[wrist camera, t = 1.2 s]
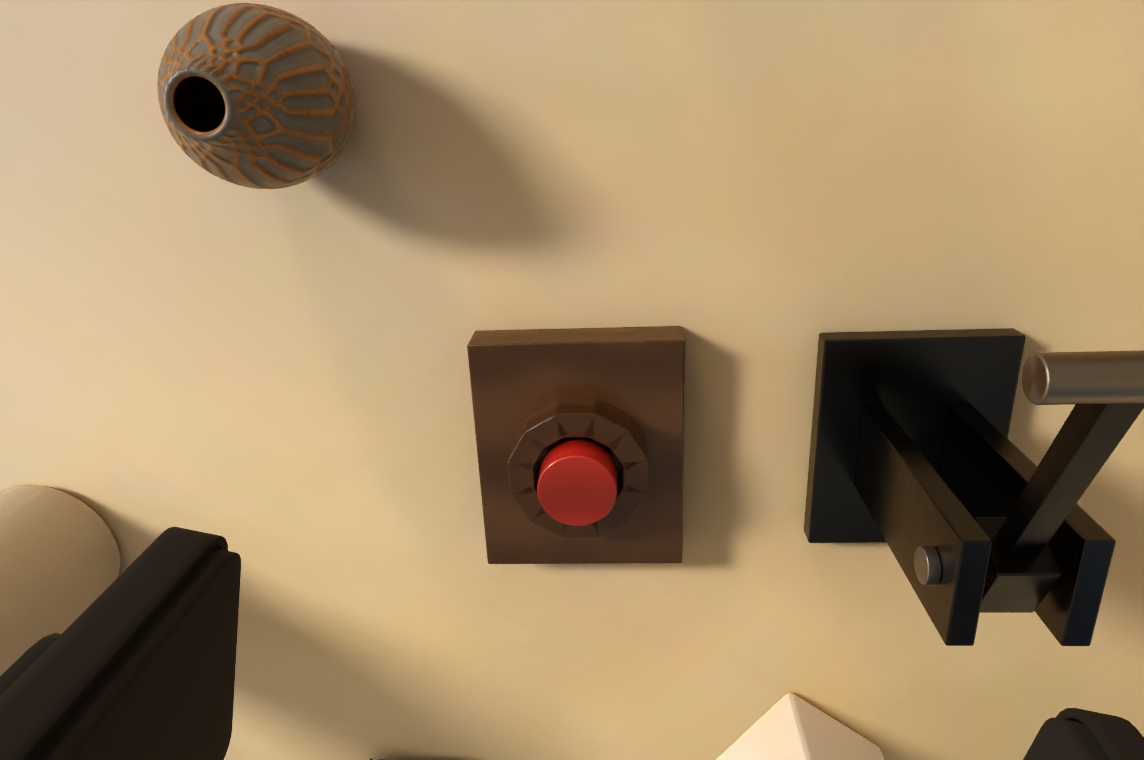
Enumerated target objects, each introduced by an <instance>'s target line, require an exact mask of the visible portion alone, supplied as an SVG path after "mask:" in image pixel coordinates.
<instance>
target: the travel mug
mask: <svg viewBox="0 0 1144 760" xmlns="http://www.w3.org/2000/svg"><path fill="white" fill-rule="evenodd" d="M119 571H120V554H119V550H118V546H117V543H116V540H115V538H114V536H113V534H112V533H111V531H110V529H109V528H108V526H107V525H106V524H105V522H104V521H103V520H102V519H101V518H100V517H99V516H98V515H97V513H96V512H94V511H93V510H92V509H91V508H90V507H88V506H87V505H86V504H84V503H83V502H81V501H80V500H78V499H77V498H75V497H73V496H71V495H69V494H67V493H65V492H62V491H59V490H57V489H53V488H50V487H45V486H38V485H20V486H14V487H11V488H8V489H5V490H3V491H1V492H0V676H1V675H2V674H3V673H4V672H5V671H6V670H7V669H8V668H9V667H10V666H11V665H12V664H13V663H15V662H16V661H17V660H18V659H19V658H20V657H21V656H22V655H23V654H24V653H25V652H26V651H27V650H28V649H29V648H30V647H31V646H33V645H34V644H35V643H36V642H38V641H39V640H40V639H42V638H43V637H45V636H48V635H50V634H53V633H59V634H62V633H63V632H64V631H65V630H66V629H67V628H68V627H69V626H70V625H71V624H72V623H73V622H74V621H75V620H76V619H77V618H78V617H79V616H80V615H81V614H82V613H83V612H84V611H85V610H86V609H87V608H88V607H89V606H90V605H91V604H92V603H93V602H94V601H95V600H96V599H97V598H98V597H99V596H100V595H101V594H102V593H103V592H104V591H105V590H106V589H107V588H108V587H109V586H110V585H111V584H112V583H113V582H114V581H115V580H116V579H117V578H118V575H119Z"/></svg>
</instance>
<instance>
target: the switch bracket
mask: <svg viewBox="0 0 1144 760" xmlns="http://www.w3.org/2000/svg"><path fill="white" fill-rule="evenodd" d="M1024 343H1025V335H1023V334H1021V333H1020V332H1018V331H1017V330H1015V329H1013V328H1012V329H968V330H924V331H881V332H837V333H820V334H819V343H818V356H817V369H816V382H815V395H814V408H813V421H812V433H811V446H810V459H809V472H808V485H807V498H806V511H805V524H804V532H805V534H806V536H807V539H808V541H809V543H870V542H887V543H888V545H889V547H890V549H891V550H892V552H893V554H894V556H895V557H896V559H897V561H898V563H899V564H900V566H901V568H902V570H903V571H904V573H905V575H906V577H907V578H908V580H909V582H910V584H911V585H912V587H913V589H914V591H915V592H916V594H917V596H918V598H919V599H920V601H921V603H922V605H923V606H924V608H925V610H926V611H927V613H928V615H929V617H930V618H931V620H932V622H933V624H934V625H935V627H936V629H937V631H938V632H939V634H940V636H941V638H942V639H943V641H944V643H945V645H947V646H972V645H974V640H975V634H976V629H977V623H978V618H979V612H980V607H981V601H982V596H983V590H984V585H985V579H986V574H987V568H988V562H989V557H990V551H991V546H992V541H991V539H990V538H989V537H988V536H987V534H986V533H985V532H984V531H983V529H982V528H981V527H980V526H979V524H978V523H977V522H976V521H975V518H976V517H1007V516H1008V515H1009V513H1010V511H1011V510H1012V508H1013V507H1014V505H1015V503H1016V502H1017V500H1018V498H1019V497H1020V495H1021V493H1022V492H1023V490H1024V488H1025V487H1026V485H1027V484H1028V482H1029V480H1030V479H1031V477H1032V475H1033V474H1034V472H1035V470H1036V469H1037V466H1036V465H1035V464H1034V463H1033V462H1032V461H1031V460H1030V459H1029V458H1028V457H1026V456H1025V455H1024V454H1023V453H1022V452H1021V451H1020V450H1019V449H1018V448H1017V447H1016V446H1015V445H1014V444H1013V443H1012V442H1011V441H1009V440H1008V439H1007V438H1008V432H1009V427H1010V421H1011V416H1012V410H1013V404H1014V399H1015V393H1016V388H1017V382H1018V377H1019V371H1020V365H1021V360H1022V354H1023V349H1024ZM1115 543H1116V541H1115V539H1113V538H1112V537H1111V536H1110V535H1109V534H1108V533H1107V532H1106V531H1105V530H1104V529H1103V528H1102V527H1101V526H1100V525H1099V524H1098V523H1097V522H1095V521H1094V520H1093V519H1092V518H1091V517H1090V516H1089V515H1088V514H1087V513H1086V512H1085V511H1084V510H1083V509H1082V508H1081V507H1080V506H1078V505H1077V504H1075V506H1074V507H1073V509H1072V510H1071V511H1070V513H1069V514H1068V516H1067V517H1066V518H1065V520H1064V521H1063V523H1062V524H1061V525H1060V527H1059V528H1058V530H1057V531H1056V533H1055V534H1054V535H1053V537H1052V538H1051V540H1050V541H1049V542H1048V544H1049V546H1050V548H1051V550H1052V553H1053V555H1054V557H1055V559H1056V562H1057V564H1058V566H1059V568H1060V571H1061V573H1062V576H1061V577H1060V578H1059V579H1058V581H1057V582H1056V583H1055V585H1054V586H1053V587H1052V588H1051V590H1050V591H1049V592H1048V594H1047V595H1046V596H1045V597H1044V599H1043V600H1042V601H1041V603H1040V604H1039V605H1038V607H1037V608H1036V609H1035V610H1034V611H1035V612H1036V613H1037V615H1038V616H1039V617H1040V618H1041V620H1042V621H1043V622H1044V624H1045V625H1046V626H1047V628H1048V629H1049V630H1050V631H1051V633H1052V634H1053V635H1054V637H1055V638H1056V639H1057V640H1058V642H1059V643H1060V644H1061V645H1062V646H1090V643H1091V639H1092V635H1093V631H1094V627H1095V623H1096V619H1097V615H1098V611H1099V607H1100V603H1101V599H1102V595H1103V591H1104V587H1105V583H1106V579H1107V575H1108V571H1109V567H1110V563H1111V559H1112V555H1113V551H1114V547H1115Z"/></svg>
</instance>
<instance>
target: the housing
mask: <svg viewBox="0 0 1144 760" xmlns="http://www.w3.org/2000/svg"><path fill="white" fill-rule="evenodd" d="M467 349H468V359H469V370H470V380H471V391H472V401H473V411H474V422H475V432H476V443H477V453H478V464H479V474H480V485H481V495H482V506H483V516H484V526H485V537H486V547H487V558H488V563H489V564H579V563H682V550H683V465H684V380H685V340H684V336H683V332H682V328H681V327H680V326H665V327H623V328H580V329H538V330H496V331H475V333H474V334H473V336H472V338H471V340H470V342H469V344H468V346H467ZM570 440H586V441H590V442H593V443H595V444H597V445H599V446H601V447H602V448H603V449H605V450H606V451H607V452H608V453H609V454H610V456H611V457H612V459H613V460H614V462H615V465H616V469H617V497H616V501H615V504H614V506H613V508H612V509H611V511H610V512H609V513H608V514H607V515H606V516H605V517H604V518H602V519H601V520H599V521H597V522H595V523H593V524H589V525H584V526H572V525H567V524H563V523H561V522H559V521H557V520H555V519H554V518H552V517H551V516H550V515H549V514H547V512H546V511H545V510H544V509H543V507H542V506H541V504H540V502H539V499H538V494H537V485H538V479H539V474H540V469H541V464H542V461H543V459H544V457H545V456H546V455H547V453H548V452H549V451H550V450H551V449H552V448H554V447H555V446H557V445H558V444H560V443H563V442H566V441H570Z"/></svg>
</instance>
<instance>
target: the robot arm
mask: <svg viewBox="0 0 1144 760" xmlns="http://www.w3.org/2000/svg"><path fill="white" fill-rule="evenodd" d="M240 573H241V558H240V555H239V554H238V553H235V552H230V551H228V544H227V542H226V539H225V538H224V537H222V536H218V535H213V534H208V533H203V532H198V531H193V530H188V529H183V528H178V527H171V528H168V529H167V530H166V531H164V532H163V533H162V534H161V535H160V536H159V537H158V538H157V539H156V540H155V541H154V542H153V543H152V544H151V545H150V546H149V547H148V548H147V549H146V550H145V551H144V552H143V553H142V554H141V555H140V556H139V557H138V558H137V559H136V560H135V561H134V562H133V563H132V564H131V565H130V566H129V567H128V568H127V569H126V570H125V571H124V572H123V573H122V574H121V575H120V576H119V577H118V578H117V579H116V580H115V581H114V582H113V583H112V584H111V585H110V586H109V587H108V588H107V589H106V590H105V591H104V592H103V593H102V594H101V595H100V596H99V597H98V598H97V599H96V600H95V601H94V602H93V603H92V604H91V605H90V606H89V607H88V608H87V609H86V610H85V611H84V612H83V613H82V614H81V615H80V616H79V617H78V618H77V619H76V620H75V621H74V622H73V623H72V624H71V625H70V626H69V627H68V628H67V629H66V630H65V631H64V632H63V633H62V634H59V633H53V634H50V635H48V636H45V637H43V638H42V639H40V640H39V641H38V642H36V643H35V644H34V645H33V646H31V647H30V648H29V649H28V650H27V651H26V652H25V653H24V654H23V655H22V656H21V657H20V658H19V659H18V660H17V661H16V662H15V663H13V664H12V665H11V666H10V667H9V668H8V669H7V670H6V671H5V672H4V673H3V674H2V675H1V676H0V760H224V757H225V755H226V752H227V749H228V746H229V742H230V738H231V732H232V717H233V699H234V681H235V663H236V645H237V627H238V609H239V591H240ZM1023 760H1144V737H1143V736H1142V735H1141V734H1140V732H1139V731H1138V730H1137V729H1136V728H1135V727H1134V726H1133V725H1132V724H1131V723H1130V722H1129V721H1127V720H1125V719H1123V718H1121V717H1117V716H1112V715H1107V714H1102V713H1097V712H1092V711H1087V710H1082V709H1077V708H1067V709H1065V710H1063V711H1061V712H1060V713H1059V714H1058V715H1057V717H1056V718H1050V719H1048V720H1046V721H1045V723H1044V724H1043V725H1042V727H1041V729H1040V730H1039V732H1038V734H1037V736H1036V738H1035V739H1034V741H1033V743H1032V745H1031V747H1030V748H1029V750H1028V752H1027V754H1026V756H1025V757H1024V759H1023Z"/></svg>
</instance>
